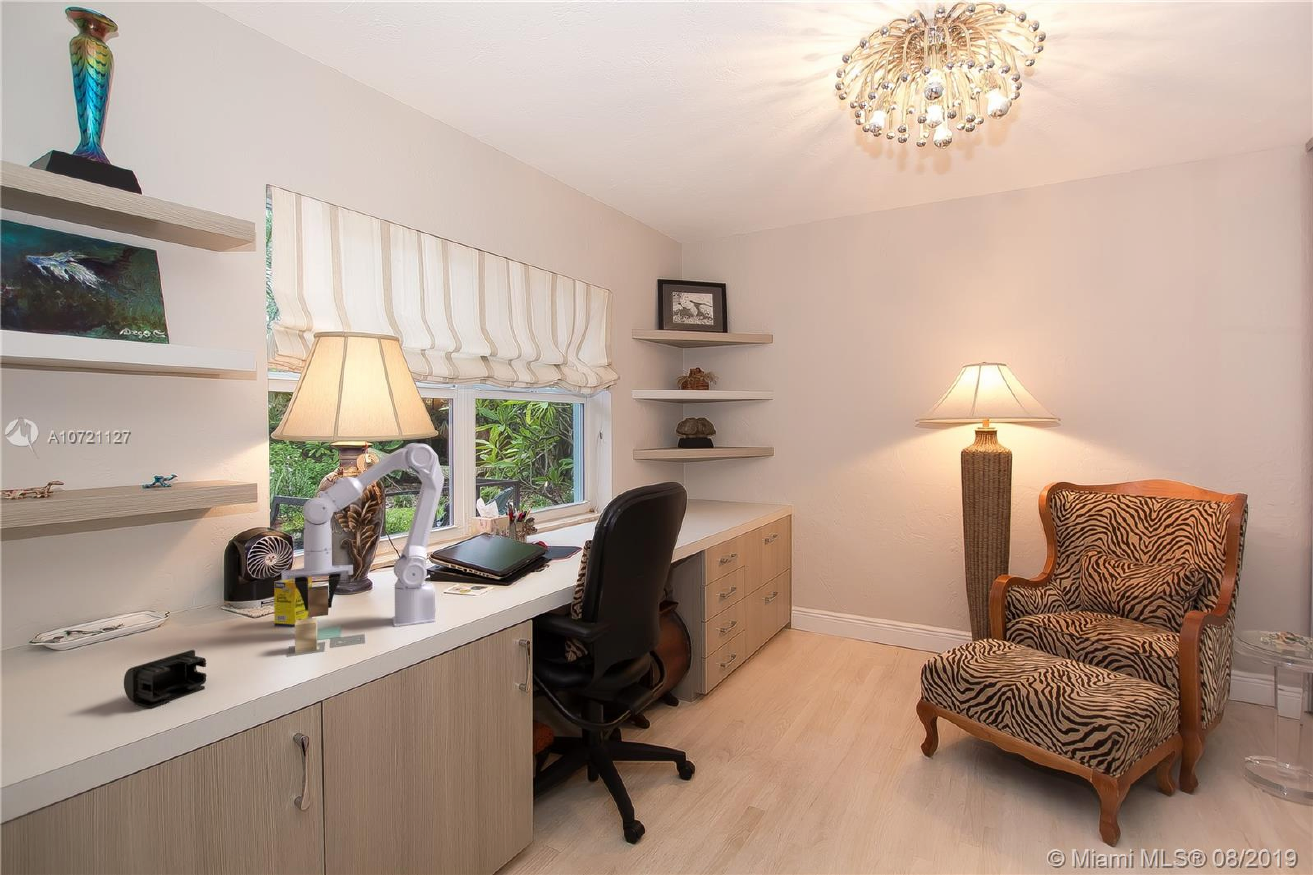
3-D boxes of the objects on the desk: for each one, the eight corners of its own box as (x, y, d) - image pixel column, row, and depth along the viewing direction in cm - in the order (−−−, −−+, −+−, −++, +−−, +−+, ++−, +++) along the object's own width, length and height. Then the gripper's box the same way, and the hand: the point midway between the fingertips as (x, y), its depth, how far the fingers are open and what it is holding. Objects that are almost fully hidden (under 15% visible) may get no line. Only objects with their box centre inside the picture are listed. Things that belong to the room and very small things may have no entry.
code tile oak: (325, 642, 142) (325, 641, 142) (324, 652, 136) (324, 651, 136) (289, 647, 139) (289, 646, 139) (286, 657, 133) (286, 656, 133)
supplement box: (295, 628, 153) (294, 582, 153) (273, 626, 154) (273, 581, 154) (313, 620, 159) (312, 577, 159) (292, 619, 160) (291, 576, 160)
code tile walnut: (364, 634, 147) (364, 633, 147) (365, 643, 141) (365, 643, 141) (330, 639, 144) (330, 638, 144) (329, 648, 138) (329, 647, 138)
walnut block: (328, 610, 150) (328, 585, 149) (328, 615, 146) (327, 589, 146) (309, 612, 148) (308, 587, 148) (308, 617, 144) (307, 591, 144)
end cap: (185, 683, 120) (185, 647, 120) (209, 689, 117) (208, 652, 117) (123, 704, 111) (122, 665, 111) (147, 711, 108) (146, 671, 108)
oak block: (317, 644, 140) (317, 617, 140) (316, 650, 136) (316, 622, 136) (296, 647, 138) (296, 620, 138) (295, 653, 135) (294, 625, 135)
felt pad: (341, 627, 153) (340, 625, 153) (340, 638, 145) (340, 636, 145) (298, 632, 149) (298, 631, 149) (295, 643, 141) (295, 642, 141)
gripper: (352, 544, 154) (353, 600, 154) (283, 549, 147) (284, 607, 148) (352, 549, 147) (353, 607, 148) (280, 554, 141) (281, 615, 141)
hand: (318, 608), depth 147 cm, fingers closed on walnut block, 4 cm apart
